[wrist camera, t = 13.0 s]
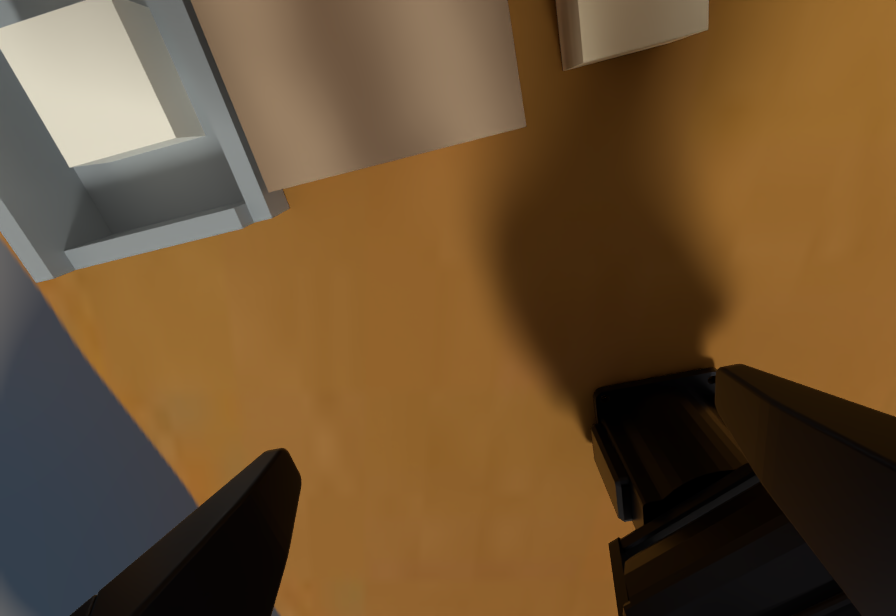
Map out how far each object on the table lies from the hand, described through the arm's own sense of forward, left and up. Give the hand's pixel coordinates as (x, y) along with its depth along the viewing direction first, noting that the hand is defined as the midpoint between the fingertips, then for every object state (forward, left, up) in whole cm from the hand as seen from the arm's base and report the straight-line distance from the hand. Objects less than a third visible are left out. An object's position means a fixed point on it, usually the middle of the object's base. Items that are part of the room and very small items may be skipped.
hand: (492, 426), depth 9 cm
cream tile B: (+12, -10, -12) cm, 19 cm away
